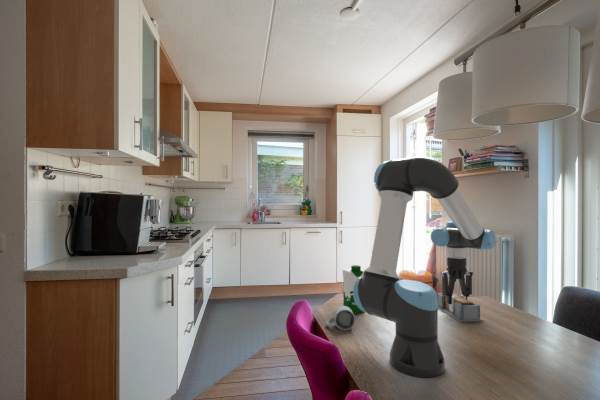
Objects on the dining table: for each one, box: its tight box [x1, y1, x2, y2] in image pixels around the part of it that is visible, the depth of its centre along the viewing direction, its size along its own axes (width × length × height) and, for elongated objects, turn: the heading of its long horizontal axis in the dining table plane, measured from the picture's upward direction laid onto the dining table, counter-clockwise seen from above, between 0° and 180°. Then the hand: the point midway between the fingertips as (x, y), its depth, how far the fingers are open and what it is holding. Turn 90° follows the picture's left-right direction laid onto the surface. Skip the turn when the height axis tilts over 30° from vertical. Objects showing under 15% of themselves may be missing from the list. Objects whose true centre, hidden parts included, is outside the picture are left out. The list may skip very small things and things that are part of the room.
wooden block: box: [443, 294, 473, 313], centre depth 137 cm, size 14×4×6 cm, turn 11°
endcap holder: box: [436, 292, 484, 323], centre depth 137 cm, size 20×10×6 cm, turn 5°
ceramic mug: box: [325, 305, 356, 331], centre depth 122 cm, size 11×8×8 cm
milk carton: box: [342, 264, 365, 315], centre depth 140 cm, size 9×9×20 cm
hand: (457, 311), depth 137 cm, fingers open, 5 cm apart
